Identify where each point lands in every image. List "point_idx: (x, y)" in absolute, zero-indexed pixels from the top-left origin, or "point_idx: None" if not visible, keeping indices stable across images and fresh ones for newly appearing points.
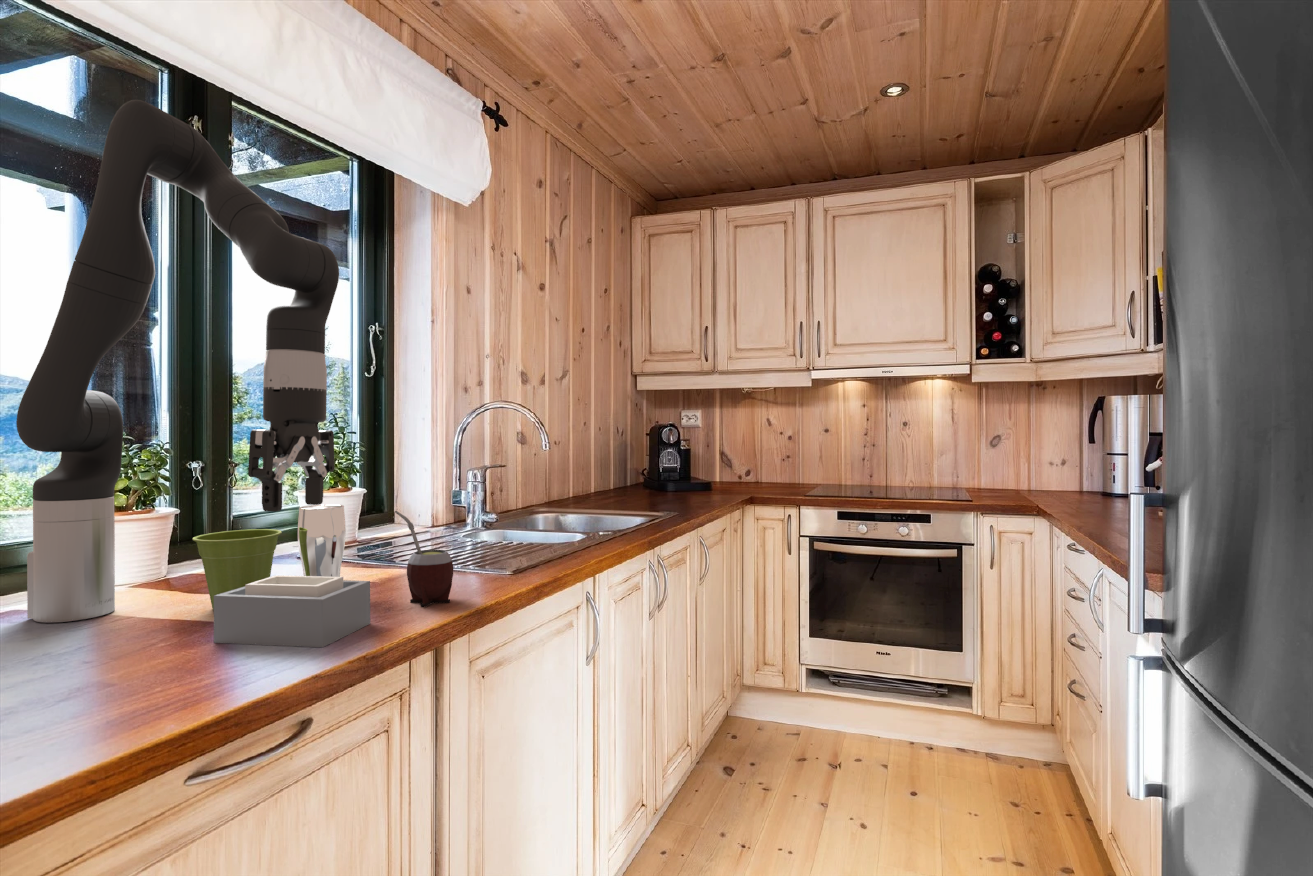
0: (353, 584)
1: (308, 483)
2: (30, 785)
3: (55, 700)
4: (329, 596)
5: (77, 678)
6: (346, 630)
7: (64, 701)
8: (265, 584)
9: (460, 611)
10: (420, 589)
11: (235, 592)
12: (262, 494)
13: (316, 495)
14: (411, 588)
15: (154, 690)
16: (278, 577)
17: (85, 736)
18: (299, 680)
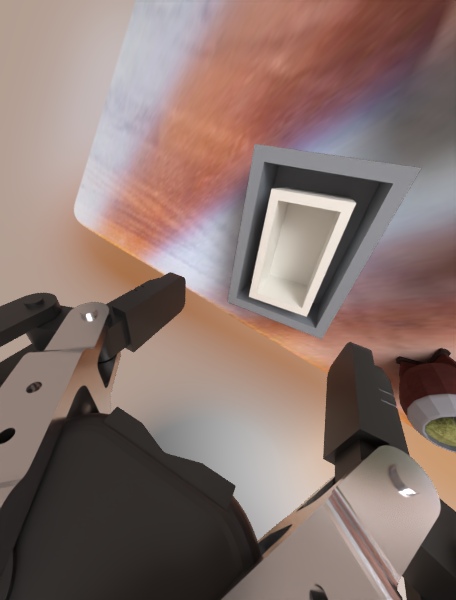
0: (319, 320)
1: (351, 410)
2: (76, 216)
3: (125, 119)
4: (239, 306)
5: (162, 76)
6: None
7: (126, 131)
8: (268, 224)
9: None
10: (405, 373)
11: (284, 164)
12: (130, 292)
13: (332, 387)
14: (428, 365)
15: (153, 192)
16: (339, 215)
17: (103, 202)
18: None
